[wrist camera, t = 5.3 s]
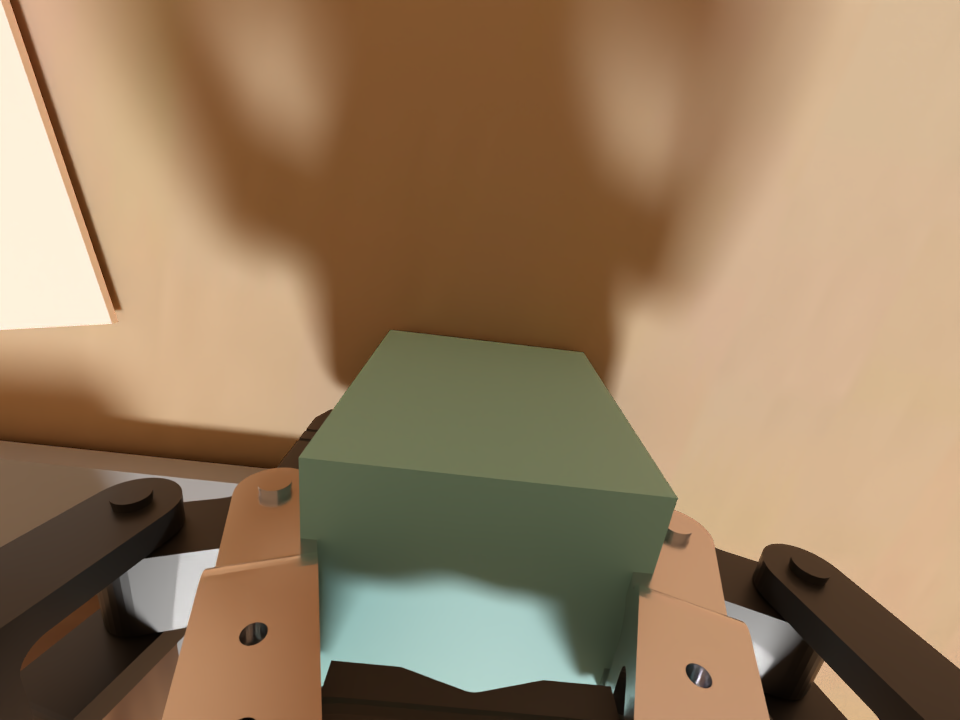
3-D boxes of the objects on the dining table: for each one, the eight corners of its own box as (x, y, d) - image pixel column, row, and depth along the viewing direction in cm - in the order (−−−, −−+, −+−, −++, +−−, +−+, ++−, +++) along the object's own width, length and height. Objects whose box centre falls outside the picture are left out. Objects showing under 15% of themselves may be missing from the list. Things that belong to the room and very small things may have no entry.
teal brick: (390, 329, 11) (298, 456, 6) (583, 352, 12) (677, 498, 6) (381, 493, 13) (304, 715, 7) (550, 510, 13) (599, 741, 8)
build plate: (-177, 421, 12) (-219, 436, 12) (329, 474, 13) (320, 492, 12) (-40, 747, 17) (-64, 772, 16) (328, 778, 18) (321, 804, 17)
